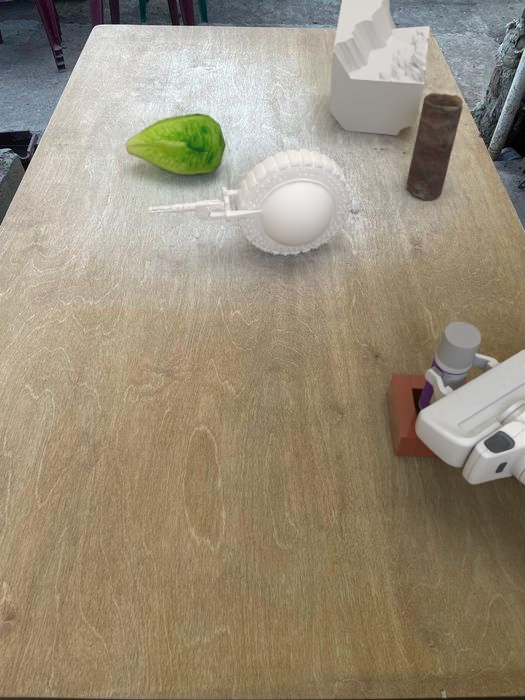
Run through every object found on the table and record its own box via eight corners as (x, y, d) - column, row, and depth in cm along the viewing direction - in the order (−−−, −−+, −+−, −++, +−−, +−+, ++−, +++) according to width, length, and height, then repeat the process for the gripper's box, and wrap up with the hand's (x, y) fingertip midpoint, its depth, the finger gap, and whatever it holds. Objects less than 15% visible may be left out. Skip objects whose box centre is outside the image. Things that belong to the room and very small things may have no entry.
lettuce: (135, 151, 136) (127, 99, 127) (227, 152, 137) (225, 100, 128) (127, 189, 127) (117, 136, 118) (225, 189, 128) (223, 137, 119)
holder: (457, 395, 95) (466, 375, 91) (471, 457, 88) (481, 438, 84) (386, 394, 95) (392, 374, 91) (395, 456, 88) (401, 437, 84)
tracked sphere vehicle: (158, 290, 109) (143, 195, 93) (153, 237, 118) (139, 142, 103) (352, 269, 113) (368, 175, 98) (333, 220, 122) (345, 126, 107)
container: (419, 389, 90) (443, 317, 78) (452, 395, 89) (482, 323, 78) (417, 416, 87) (443, 345, 75) (452, 422, 86) (482, 351, 75)
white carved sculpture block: (420, 93, 150) (442, 1, 127) (414, 146, 144) (437, 61, 121) (336, 85, 152) (342, -6, 129) (327, 138, 147) (332, 52, 123)
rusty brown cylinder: (398, 192, 128) (418, 99, 113) (413, 175, 132) (435, 84, 117) (432, 205, 126) (457, 112, 110) (447, 188, 130) (473, 96, 114)
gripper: (595, 383, 75) (508, 313, 83) (475, 463, 68) (391, 379, 75) (574, 413, 80) (494, 344, 88) (460, 491, 73) (383, 409, 80)
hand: (446, 361), depth 81 cm, fingers closed on container, 4 cm apart
